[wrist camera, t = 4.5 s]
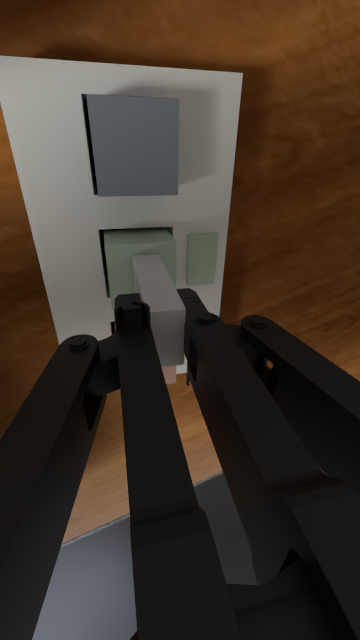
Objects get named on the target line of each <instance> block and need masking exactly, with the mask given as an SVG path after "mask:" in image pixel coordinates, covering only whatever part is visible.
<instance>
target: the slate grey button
mask: <svg viewBox="0 0 360 640" xmlns="http://www.w3.org/2000/svg"><path fill="white" fill-rule="evenodd" d="M86 97H87V106H88V114H89V122H90V131H91V139H92V147H93V156H94V164H95V172H96V181H97V189H98V197H110V196H165V195H178V159H179V99H173V98H153V97H133V96H114V95H94V94H86Z"/></svg>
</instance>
